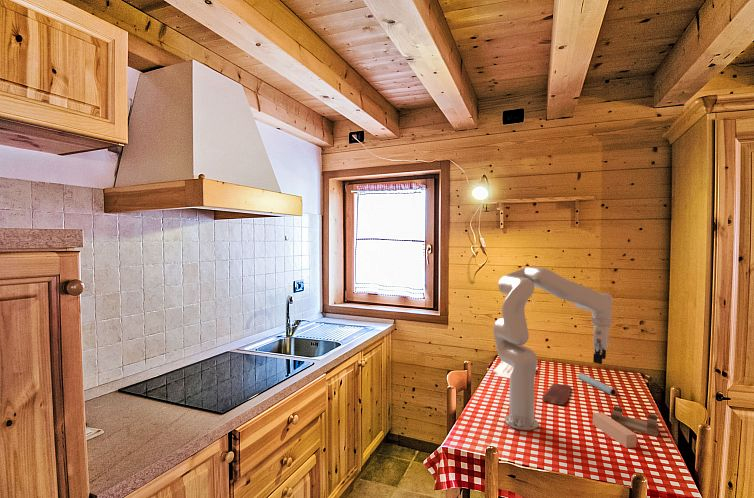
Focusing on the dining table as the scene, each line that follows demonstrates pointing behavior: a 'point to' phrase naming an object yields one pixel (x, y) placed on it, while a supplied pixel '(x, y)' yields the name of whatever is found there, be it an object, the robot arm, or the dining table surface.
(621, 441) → the clay strip
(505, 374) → the tray
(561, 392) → the wooden tablet
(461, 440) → the dining table surface
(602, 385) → the grey tube
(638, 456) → the dining table surface
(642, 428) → the rack
